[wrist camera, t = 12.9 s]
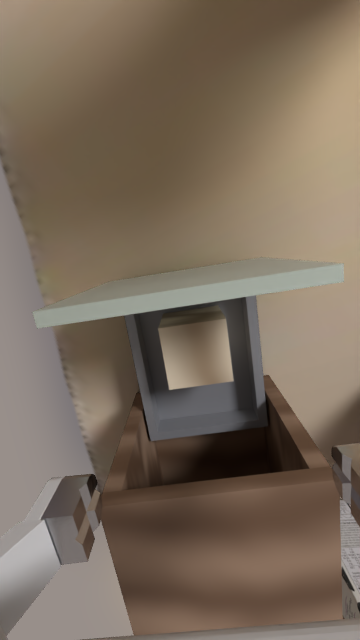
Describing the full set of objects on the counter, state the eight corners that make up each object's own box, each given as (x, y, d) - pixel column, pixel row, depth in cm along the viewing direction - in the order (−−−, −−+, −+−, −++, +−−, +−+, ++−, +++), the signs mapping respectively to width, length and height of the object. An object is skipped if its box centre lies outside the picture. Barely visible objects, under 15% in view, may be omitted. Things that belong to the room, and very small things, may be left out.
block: (172, 364, 26) (169, 389, 21) (163, 313, 25) (158, 328, 20) (224, 356, 26) (233, 381, 21) (218, 305, 25) (226, 318, 20)
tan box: (136, 393, 29) (97, 506, 16) (268, 375, 29) (339, 479, 16) (162, 512, 33) (147, 682, 20) (279, 499, 32) (343, 667, 19)
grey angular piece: (108, 281, 25) (32, 311, 13) (261, 257, 25) (343, 263, 12) (139, 425, 29) (104, 560, 16) (274, 407, 28) (348, 535, 15)
